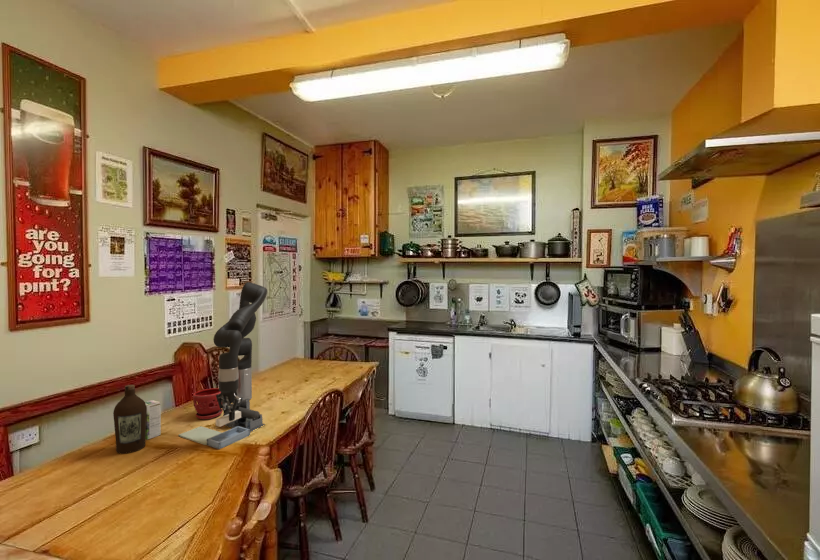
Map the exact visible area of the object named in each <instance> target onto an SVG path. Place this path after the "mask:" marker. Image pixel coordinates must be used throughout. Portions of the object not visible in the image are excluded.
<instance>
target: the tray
mask: <svg viewBox="0 0 820 560" xmlns="http://www.w3.org/2000/svg"><path fill="white" fill-rule="evenodd" d="M249 435H250V436H251V432H250V429H247V428H243V427H240V426H237V427H235V428H231V429H227V430H225V431H223V432H222V433H220V434H218V435H216V436H213V437H211V438H208V439H207V445H206V446H208V447H210V448H214V449H217V450H221V449H223V448H225V447H227V446H230V445H232V444H234V443H237V442H239V441H240V440H244V439H245V438H247V437H249Z"/></svg>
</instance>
